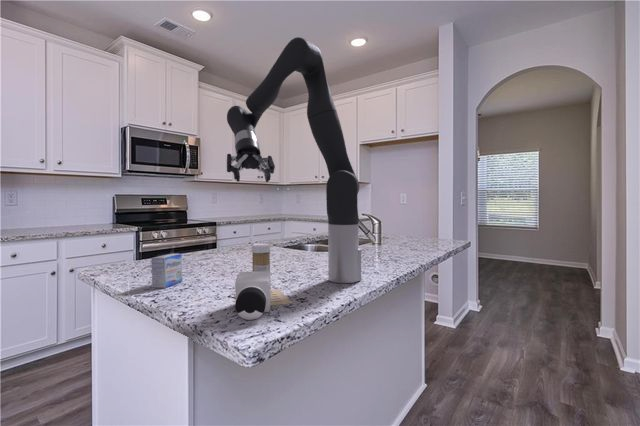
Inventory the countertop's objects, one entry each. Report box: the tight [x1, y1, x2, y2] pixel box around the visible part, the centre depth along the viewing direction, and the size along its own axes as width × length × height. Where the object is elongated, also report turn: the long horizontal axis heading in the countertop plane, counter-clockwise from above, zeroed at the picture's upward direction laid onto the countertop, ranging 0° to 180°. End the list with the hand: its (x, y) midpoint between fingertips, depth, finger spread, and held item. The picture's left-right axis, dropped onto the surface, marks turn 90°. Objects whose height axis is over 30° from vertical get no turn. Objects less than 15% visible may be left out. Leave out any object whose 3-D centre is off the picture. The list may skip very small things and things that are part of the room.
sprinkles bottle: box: [251, 243, 271, 272], centre depth 81 cm, size 5×5×13 cm
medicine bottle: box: [234, 270, 272, 321], centre depth 71 cm, size 7×7×12 cm
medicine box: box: [150, 253, 183, 289], centre depth 96 cm, size 8×4×9 cm, turn 168°
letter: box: [233, 289, 293, 307], centre depth 81 cm, size 12×13×1 cm
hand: (253, 179), depth 96 cm, fingers open, 8 cm apart
